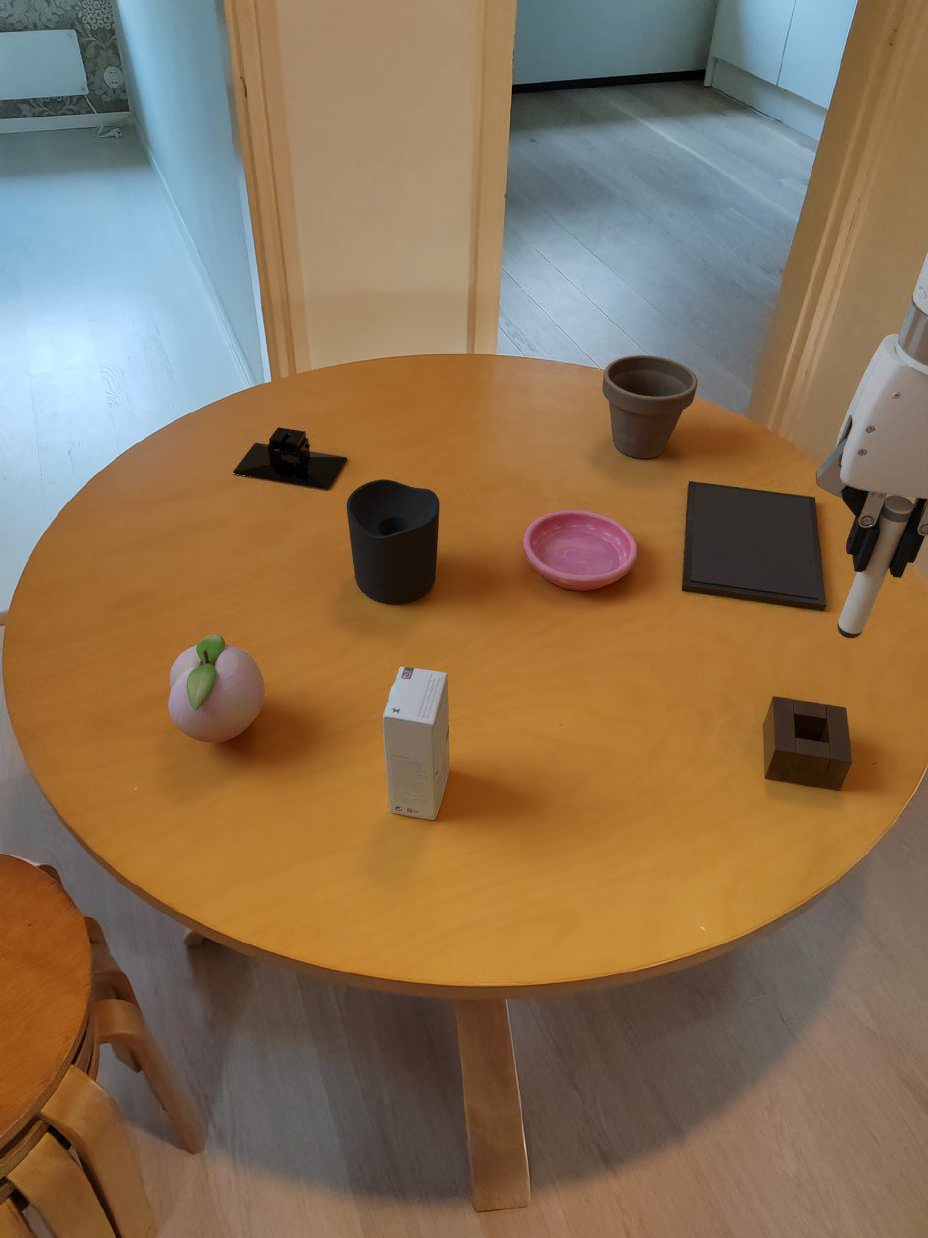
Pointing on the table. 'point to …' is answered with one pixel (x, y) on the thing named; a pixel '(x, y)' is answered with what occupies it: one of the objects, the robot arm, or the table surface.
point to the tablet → (753, 546)
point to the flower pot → (646, 401)
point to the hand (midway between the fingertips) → (875, 561)
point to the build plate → (291, 461)
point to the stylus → (875, 567)
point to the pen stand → (806, 743)
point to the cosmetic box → (417, 742)
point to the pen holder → (393, 540)
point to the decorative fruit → (215, 690)
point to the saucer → (579, 549)
